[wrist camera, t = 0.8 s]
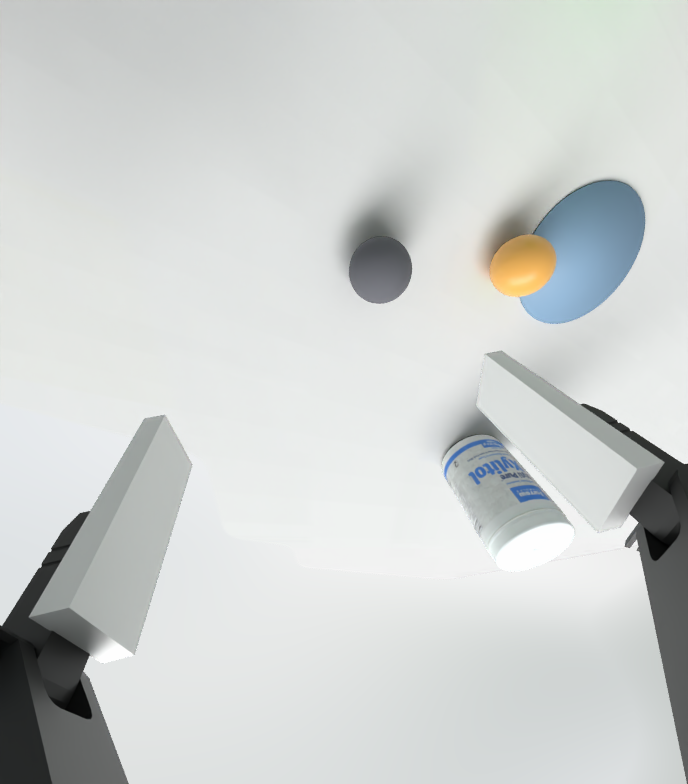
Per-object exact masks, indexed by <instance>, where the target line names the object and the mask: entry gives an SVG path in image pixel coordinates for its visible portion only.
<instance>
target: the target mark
mask: <svg viewBox="0 0 688 784" xmlns="http://www.w3.org/2000/svg"><path fill="white" fill-rule="evenodd" d="M644 229H645V212H644V207H643V204H642V201H641V199H640V197H639V196H638V194H637V193H636V192H635V191H634V190H633V189H632V188H631V187H630V186H628V185H626V184H624V183H621V182H617V181H601V182H597V183H592V184H590V185H587V186H585V187H582V188H580V189H579V190H577V191H575V192H573V193H572V194H570V195H569V196H567V197H566V198H565V199H563V200H562V201H561V202H560V203H559V204H557V205H556V206H555V207H554V208H553V209H552V210H551V211H550V212H549V213H548V215H547V216H546V217H545V218H544V220H543V221H542V222H541V223H540V225H539V226H538V228H537V229H536V231H535V232H534V234H533V235H538V236H541V237H543V238H545V239H546V240H548V241H549V242H550V243H551V244H552V246H553V248H554V249H555V252H556V258H557V261H556V267H555V271H554V273H553V275H552V277H551V278H550V280H549V281H548V282H547V283H546V284H545V285H544V286H543V287H542V288H541V289H539V290H538V291H536V292H534V293H532V294H530V295H526V296H521V297H520V300H521V303H522V305H523V307H524V308H525V310H526V311H527V312H528V313H529V314H530V315H531V316H532V317H533V318H535V319H537V320H539V321H542V322H544V323H550V324H558V323H565V322H569V321H572V320H575V319H577V318H580V317H581V316H583V315H585V314H587V313H589V312H590V311H592V310H593V309H595V308H596V307H597V306H599V305H600V304H601V303H602V302H604V301H605V300H606V299H607V298H608V297H609V296H610V295H611V294H612V293H613V292H614V291H615V290H616V288H617V287H618V286H619V285H620V284H621V282H622V281H623V280H624V278H625V277H626V275H627V274H628V272H629V270H630V269H631V267H632V265H633V263H634V261H635V259H636V257H637V255H638V252H639V250H640V247H641V243H642V240H643V235H644Z"/></svg>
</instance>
